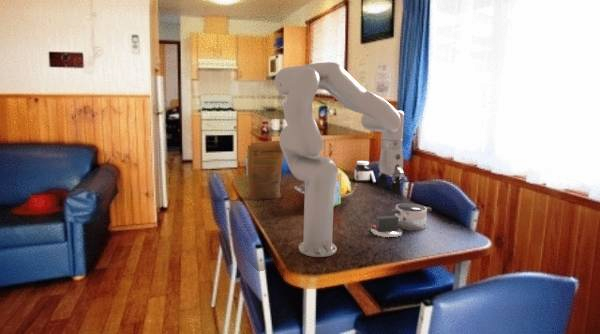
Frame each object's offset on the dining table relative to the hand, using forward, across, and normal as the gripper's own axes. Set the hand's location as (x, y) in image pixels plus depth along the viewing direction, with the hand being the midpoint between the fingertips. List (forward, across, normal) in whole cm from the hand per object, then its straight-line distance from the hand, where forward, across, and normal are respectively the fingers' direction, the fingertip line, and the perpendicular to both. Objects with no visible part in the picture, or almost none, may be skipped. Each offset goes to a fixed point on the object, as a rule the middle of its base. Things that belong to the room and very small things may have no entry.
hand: (388, 189), depth 151 cm
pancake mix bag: (+17, +56, +35) cm, 68 cm away
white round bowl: (+17, 0, 0) cm, 17 cm away
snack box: (+17, +35, +13) cm, 41 cm away
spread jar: (+17, +80, -30) cm, 87 cm away
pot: (+16, +5, -13) cm, 22 cm away
